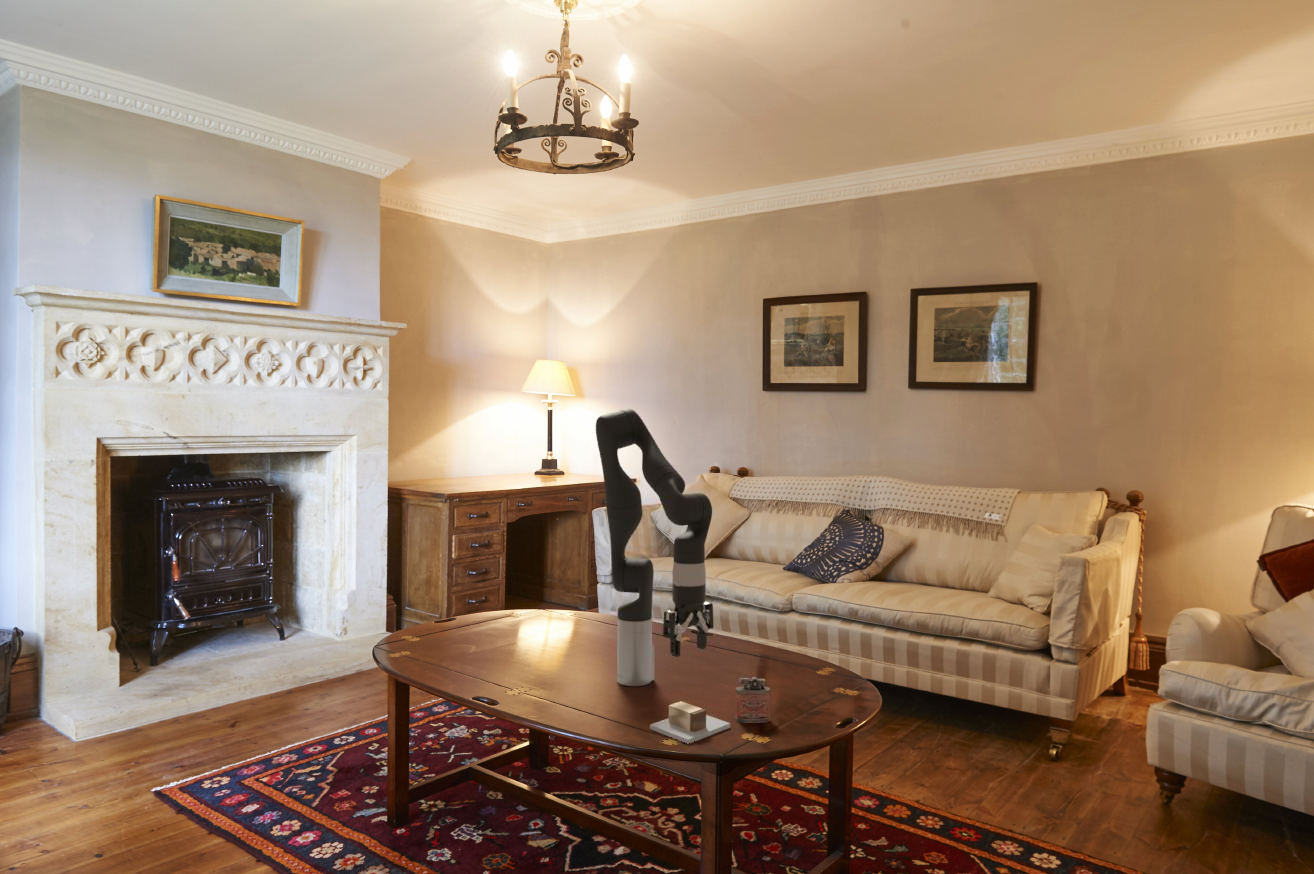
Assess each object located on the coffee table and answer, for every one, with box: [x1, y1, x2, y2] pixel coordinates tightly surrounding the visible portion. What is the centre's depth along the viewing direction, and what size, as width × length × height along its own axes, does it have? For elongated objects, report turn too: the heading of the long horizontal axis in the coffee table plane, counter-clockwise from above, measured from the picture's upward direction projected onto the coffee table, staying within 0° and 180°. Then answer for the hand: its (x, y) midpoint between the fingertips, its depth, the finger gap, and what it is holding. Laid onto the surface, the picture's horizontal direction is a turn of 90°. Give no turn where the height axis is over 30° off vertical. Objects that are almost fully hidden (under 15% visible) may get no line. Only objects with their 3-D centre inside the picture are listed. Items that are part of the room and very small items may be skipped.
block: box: [668, 700, 707, 732], centre depth 187 cm, size 8×4×4 cm, turn 44°
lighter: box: [735, 676, 771, 724], centre depth 193 cm, size 8×3×10 cm, turn 92°
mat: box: [649, 714, 731, 745], centre depth 188 cm, size 14×12×1 cm
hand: (688, 652), depth 187 cm, fingers open, 8 cm apart
